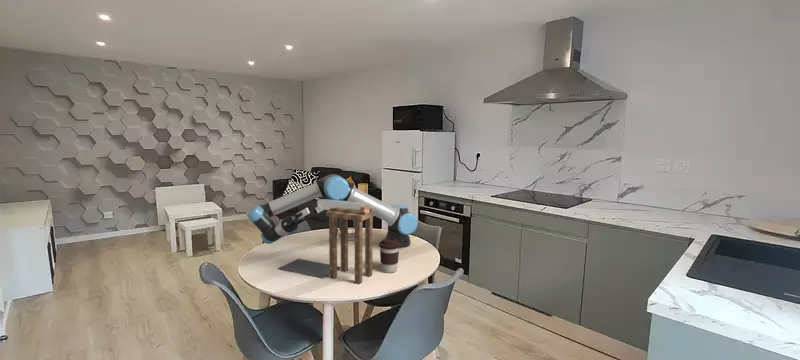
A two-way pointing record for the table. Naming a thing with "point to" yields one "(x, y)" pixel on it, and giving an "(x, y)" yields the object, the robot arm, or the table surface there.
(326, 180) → the robot arm
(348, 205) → the bar
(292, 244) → the table surface
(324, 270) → the mat
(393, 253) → the coffee cup
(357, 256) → the stand
